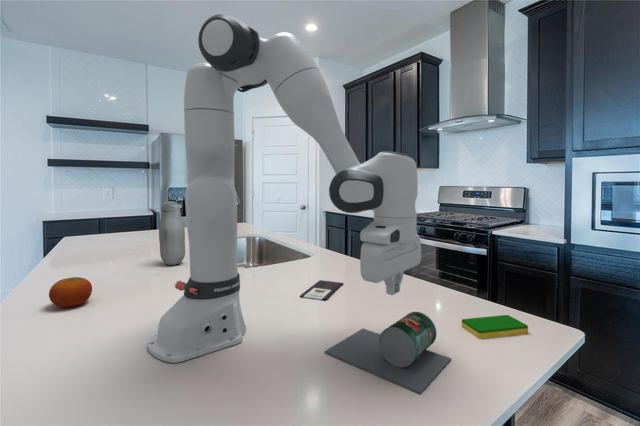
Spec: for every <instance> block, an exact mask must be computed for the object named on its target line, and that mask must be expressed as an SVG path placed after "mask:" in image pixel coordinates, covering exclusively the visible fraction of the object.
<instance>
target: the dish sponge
mask: <svg viewBox="0 0 640 426" xmlns="http://www.w3.org/2000/svg"><path fill="white" fill-rule="evenodd" d="M461 328H462V329H464V330H465V331H467V332H468V333H469V334H471V335H473V336H474V337H476V338H477V339H479V340H482V339H490V338H500V337H509V336H510V337H511V336H519V335H526V334H527V335H529V334H528V333H529V332H528V331H529V325H528V324H526V323H524V322H523V321H520V320H518V319H517V318H515V317H512V316H511V315H509V314H503V315H493V316H482V317H472V318H471V317H470V318H462V319H461Z"/></svg>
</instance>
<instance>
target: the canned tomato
mask: <svg viewBox="0 0 640 426" xmlns="http://www.w3.org/2000/svg"><path fill="white" fill-rule="evenodd" d="M379 334H380V336H379V347H380V351H381V353H382V355H383V356H384V358H385V359H386V360H387V361H388V362H389V363H391V364H392V365H394V366H397V367H406V366H408V365H410V364H411V363H412V362H413V361H414V360H415V359H416V358H417V357H418V356H419V355H421V354H422V353H423V352H424V351H425V350H428V349H429V347H430V346H431V345H433V344H434V343H435V341H436V338H437V328H436V325H435V322H434V321H433V320H432V319H431V318H430V317H429V316H428V315H426V314H425V313H423V312H421V311H412V312H409V313H407V314H406V315H405V316H402V317H401V318H400V319H399V320H397V321H396V322H394V323H392V324H390V326H388V327H386V328H385V329H383V330H382V331H381V332H380V333H379Z"/></svg>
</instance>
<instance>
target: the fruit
mask: <svg viewBox="0 0 640 426" xmlns="http://www.w3.org/2000/svg"><path fill="white" fill-rule="evenodd" d="M92 292H93V285H92V283H91V281H90V280H88V279H86V278H84V277H80V276H79V277H78V276H74V277H67V278H63V279H60V280H58V281H56V282H55V283H54V284H53V285H52V286H51V287H50V289H49V291H48V298H49V300H50V302H51V304H53V305H54V306H56V307H60V308H71V307H76V306H79V305H82V304H84V303H86V302H87V301H88V300H89V298H91V295H92Z"/></svg>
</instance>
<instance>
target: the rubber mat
mask: <svg viewBox="0 0 640 426" xmlns="http://www.w3.org/2000/svg"><path fill="white" fill-rule="evenodd" d="M380 334H381V333H378V332H375V331H372V330H369V329H366V328H361V329H359V330H358V331H355V333H353V334H351V335H349V336H348V337H346V338H344V339H343V340H340V341H339V342H338V343H336V344H335V345H333V346H331V347H330V348H327V349H326V350H324V354H326V355H328V356H330V357H333V358H335V359H338V360H340V361H342V362H344V363H346V364H348V365H349V364H350V365H352V366H354V367H356V368H358V369H361V370H363V371H366V372H368V373H370V374H372V375H374V376H376V377H380V378H381V379H383V380H386V381H388V382H390V383H394V384H395V385H397V386H400V387H402V388H404V389H407V390H409V391H411V392H414V393H416V394H419V395H422V394H423V392H424V391H425V390H426V389H427V388H428V387H429V386H430V385H431V383H432V382H433V381H434V380H435V379H436V377H438V375H440V373H441V372H442V371H443V370H444V369H445V368H446V367H447V365H448V364H449V363H450V362H451V361H452V358H451V357H448V356H446V355H442V354H439V353H437V352H434V351H431V350H428V349H426V350H425V351H424V352H423V353H422V354H421V355H419V356H418V357H417V358H416V359H415V360H414V361H413V362H412V363H411V364H410V365H408V366H406V367H397V366H394V365H392V364H391V363H389V362H388V361H387V360H386V359H385V358H384V356H383V355H382V353H381V351H380V347H379V336H380Z"/></svg>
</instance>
